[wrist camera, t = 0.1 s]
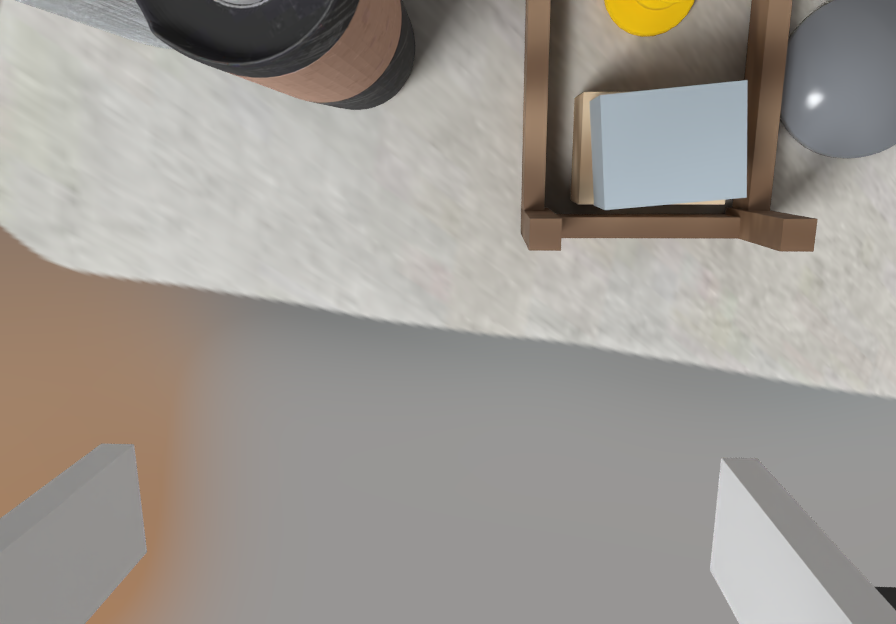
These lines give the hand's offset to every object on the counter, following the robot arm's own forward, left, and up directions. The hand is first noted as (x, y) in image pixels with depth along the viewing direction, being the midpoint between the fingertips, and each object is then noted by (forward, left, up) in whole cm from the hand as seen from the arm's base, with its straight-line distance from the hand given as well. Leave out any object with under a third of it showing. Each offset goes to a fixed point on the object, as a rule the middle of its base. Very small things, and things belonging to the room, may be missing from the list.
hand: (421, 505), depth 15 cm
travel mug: (-14, -6, -28) cm, 32 cm away
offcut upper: (-8, +11, -24) cm, 28 cm away
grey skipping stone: (-12, +23, -28) cm, 38 cm away
